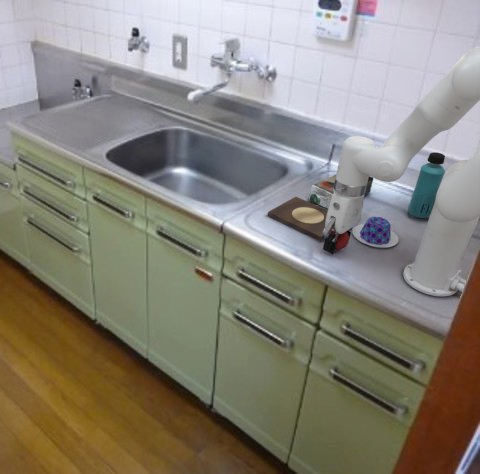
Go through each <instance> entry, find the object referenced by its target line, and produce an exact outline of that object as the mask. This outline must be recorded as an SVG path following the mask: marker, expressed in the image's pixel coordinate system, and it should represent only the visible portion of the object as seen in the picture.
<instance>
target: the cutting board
mask: <svg viewBox="0 0 480 474" xmlns="http://www.w3.org/2000/svg"><path fill="white" fill-rule="evenodd" d="M327 213H328V209H327V208H325V207H322V206H320V205H317V204H314V203H312V202H311V201H307V200H306V199H302V198H300V197H298V196H295V197H292V198H290V199H289V200H286V201H285V202H283V203H281V204H280V205H277V206H276V207H274V208H272V209H271V210H269V211H268V212H267V217H269V218H271V219H273V220H275V221H277V222H278V223H281V224H283V225H285V226H287V227H289V228H291V229H293V230H296V231H298V232H300V233H302V234H304V235H307V236H309V237H310V238H312V239H315V240H316V241H319V242H322V241H324V240H325V236H324V234H323V231H324V229H325V221H326V216H327ZM333 228H335V226H334V227H333Z"/></svg>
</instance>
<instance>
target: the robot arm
mask: <svg viewBox="0 0 480 474" xmlns="http://www.w3.org/2000/svg"><path fill="white" fill-rule="evenodd" d="M479 101H480V45H478V46H474V47H473V48H471V49H469V50H468V51H467V52H465V53H464V54H463V55H462V56H461V57H460V58H459V59H458V60H457V61H456V62H455V64H454V65H453V66H452V67H451V68H450V69H449V70H448V71H447V72H446V73H445V74H444V76H443V77H442V78H441V79H440V80H439V81H438V82H437V83H436V84H435V85H434V86H433V88H432V89H430V90H429V92H428V93H427V94H426V95H425V96H424V97H423V98H422V99H421V100H420V102H419V103H418V104H417V105H416V106H415V108H414V109H413V110H412V111H411V113H410V114H409V115H408V116H407V117H406V118H405V119H404V120H403V121H402V123H400V125H399V126H397V128H396V129H395V130H394V131H393V132H392V133H391V134H390V135H389V136H388V137H387V138H386V139H385V140H384V142H383V143H382V144H381V146H380V147H377V144H376V142H375V141H374V140H373V139H372V138H369V137H368V136H367V137H366V136H362V135H351V136H348V137H347V138H345V140H343V142H342V146H341V151H340V156H339V160H338V165H337V169H336V173H335V175H336V178H335V182H334V187H333V191H334V194H333V196H332V199H331V202H330V205H329V209H327V210H328V213H327V216H326V221H325V229H324V231H323V234H324V236H325V239H324V240H323V241H324V242H323V246H322V250H323V251H324V252H326V253H329V254H331V255H334V254H335V253H336V251H335V249H336V245H337V241H336V239H337V237H338V234H342V233H344V232H346V231H347V233H348V236H349V239H350V238H351V234H352V231H353V229H354V227H356V226H357V225H358V224H359V223H360V221H361V217H362V212H363V207H364V202H365V196H364V194H365V190H366V186H367V182H368V178H369V176H370V177H373V179H375V180H378V181H380V182H385V183H392V182H396V181H398V180H400V179H401V178H402V177H403V175H404V174H405V172H406V170H407V168H408V167H409V165H410V162H411V161H412V160H413V158H414V157H415V156H416V155H418V153H420V151H421V150H423V148H424V147H425V146H426V145H427V144H429V142H430V141H432V140H433V139H434V138H435V137H436V136H437V135H439V134H440V133H442V132H445V131H448V130H450V129H451V128H453V127H454V126H455V125H457V123H458V122H460V120H461V119H462V118H463V117H464V116H465V115H466V114H467V113H468V112H469V111H471V110H472V109H473V107H474V106H475V105H477V104H478V103H479ZM475 149H476V150H475V151H474V153H473V154H472V155H471V156H470V157H469V158H468V159H463V160H459V161H456V162H455V163H453V164H452V165H450V166H449V167H448V168H447V169H446V170H445V173H444V176H443V178H442V181H441V183H440V186H439V189H438V191H437V194H436V200H435V203H434V206H433V209H432V212H431V214H430V216H429V217H428V221H427V223H426V225H425V229H424V232H423V235H422V238H421V241H420V243H419V247H418V249H417V252H416V255H415V258H414V261H413V262H411V263H409V264H407V265H406V266H405V267H404V269H403V271H402V272H403V273H402V276H403V279H404V280H405V282H406V283H407V284H408V285H409V286H410V287H411V288H413V289H415V290H416V291H418V292H420V293H423V294H424V295H425V294H426V295H429V296H433V297H439V298H440V297H450V296H452V295H455V294H456V293H457V292H458V291H460V292H461V293H463V292H462V291H463V288H464V285H465V283H466V280H467V279H464V278H462V276H460V275H461V274H462V270H461V269H460V266H461V264H462V262H463V260H464V256H465V254H466V251H467V249H468V247H469V245H470V242H471V239H472V237H473V235H474V232H475V229H476V227H477V224H478V222H479V219H480V140H479V141H478V144H477V147H476V148H475ZM334 226H335V228H333V227H334ZM331 230H332V231H334V232H335V234H334V236H333V235H332V234H331V233H330V232H331Z"/></svg>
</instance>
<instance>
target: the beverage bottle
mask: <svg viewBox="0 0 480 474" xmlns="http://www.w3.org/2000/svg"><path fill="white" fill-rule="evenodd" d="M445 158H446V156H445V154H444V153H441V152H437V151H436V152H430V153H429V155H428V157H427V163H425V164H422V165H421V166H420V170H419V174H418V176H417V180H416V184H415V187H414V188H413V191H412V194H411V198H410V201H409V204H408V207H407V209H408V213H409V214H410V215H411V216H413V217H416V218H419V219H426V218H429V217H430V214H431V212H432V209H433V206H434V203H435V200H436V194H437V191H438V189H439V186H440V183H441V181H442V178H443V176H444V174H445V172H446V169H444V167H443V166H442V165H443V164H444V163H445V160H446V159H445Z"/></svg>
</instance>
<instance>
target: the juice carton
mask: <svg viewBox="0 0 480 474" xmlns="http://www.w3.org/2000/svg"><path fill="white" fill-rule="evenodd" d="M335 178H336V174H334V175H332V176H330V177H327V178H325V179H323V180H321V181H318V182H316V183H313V184H312V185H311V190H310V191H311V192H310V194H309V202H314V203H316V204H318V206H319V207H322V208H324V209H326V210H328V209H329V205H330V202H331V199H332V196H333V194H334V191H333V187H334V182H335ZM373 182H374V178H373V177H371V176H369V178H368V182H367V186H366V190H365V194H364V197H366V196H368V195H370V193H371V190H372V187H373Z"/></svg>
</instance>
